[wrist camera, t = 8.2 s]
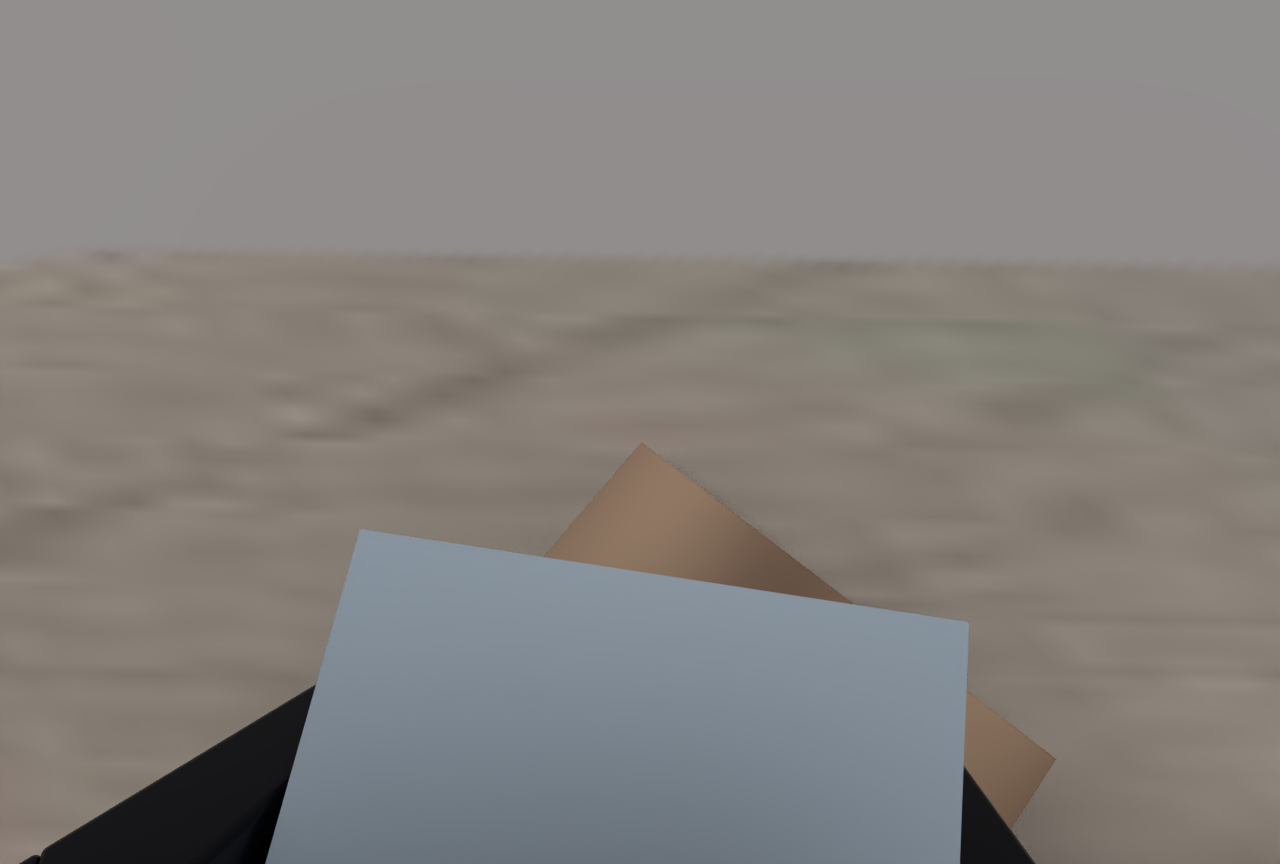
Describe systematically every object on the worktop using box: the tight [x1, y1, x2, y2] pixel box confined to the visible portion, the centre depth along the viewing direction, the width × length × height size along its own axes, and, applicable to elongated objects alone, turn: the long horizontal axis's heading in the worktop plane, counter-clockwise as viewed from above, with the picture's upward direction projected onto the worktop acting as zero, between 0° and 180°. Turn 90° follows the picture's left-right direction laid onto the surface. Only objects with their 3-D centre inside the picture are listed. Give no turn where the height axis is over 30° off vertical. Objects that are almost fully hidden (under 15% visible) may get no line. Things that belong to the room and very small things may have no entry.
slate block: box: [265, 529, 969, 864], centre depth 10 cm, size 5×5×9 cm
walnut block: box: [544, 442, 1056, 829], centre depth 17 cm, size 10×10×3 cm
